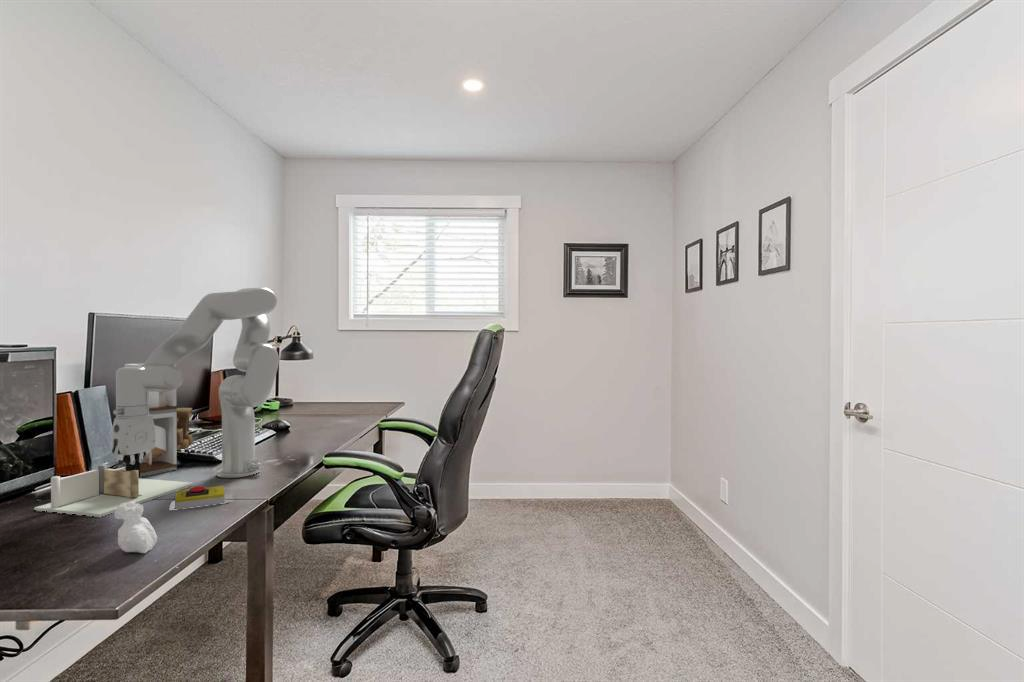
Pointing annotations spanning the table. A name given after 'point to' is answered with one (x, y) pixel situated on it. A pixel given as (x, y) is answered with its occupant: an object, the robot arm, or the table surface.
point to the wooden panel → (121, 482)
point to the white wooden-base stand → (161, 432)
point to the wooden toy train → (183, 428)
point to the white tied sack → (134, 529)
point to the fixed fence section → (77, 487)
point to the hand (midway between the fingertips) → (133, 477)
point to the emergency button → (199, 497)
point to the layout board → (117, 499)
